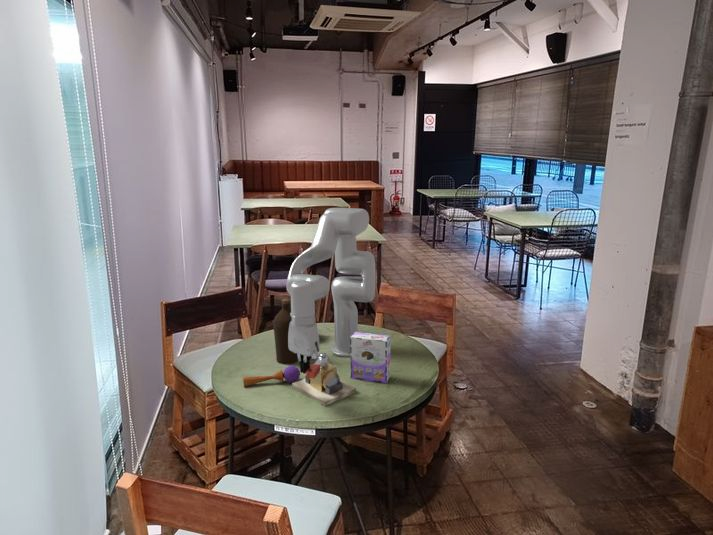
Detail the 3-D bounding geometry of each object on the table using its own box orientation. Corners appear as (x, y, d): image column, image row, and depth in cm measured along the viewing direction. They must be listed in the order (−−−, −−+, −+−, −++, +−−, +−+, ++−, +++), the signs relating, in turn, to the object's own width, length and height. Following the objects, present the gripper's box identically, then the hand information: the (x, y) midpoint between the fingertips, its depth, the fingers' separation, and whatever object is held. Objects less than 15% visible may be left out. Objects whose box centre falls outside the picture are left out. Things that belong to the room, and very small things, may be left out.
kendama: (243, 371, 177) (298, 362, 180) (245, 387, 177) (300, 378, 180) (242, 376, 171) (299, 366, 174) (244, 392, 171) (301, 383, 175)
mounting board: (322, 374, 182) (322, 371, 182) (356, 391, 169) (356, 387, 169) (292, 387, 173) (292, 383, 172) (325, 406, 160) (325, 402, 160)
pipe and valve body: (319, 376, 178) (319, 358, 176) (343, 388, 168) (343, 369, 167) (304, 382, 173) (303, 364, 171) (328, 395, 164) (327, 376, 162)
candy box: (390, 377, 180) (391, 335, 176) (386, 384, 175) (386, 341, 171) (355, 371, 184) (355, 330, 180) (350, 378, 179) (349, 336, 175)
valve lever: (320, 363, 171) (320, 351, 170) (329, 364, 170) (328, 352, 169) (305, 382, 157) (305, 369, 156) (315, 383, 157) (314, 370, 155)
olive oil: (294, 366, 189) (292, 305, 183) (270, 362, 192) (266, 302, 186) (306, 355, 199) (304, 296, 193) (282, 352, 202) (280, 294, 196)
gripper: (278, 317, 159) (280, 369, 163) (313, 327, 150) (315, 382, 155) (293, 311, 164) (296, 361, 169) (328, 320, 156) (330, 373, 161)
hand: (305, 371), depth 162 cm, fingers closed
